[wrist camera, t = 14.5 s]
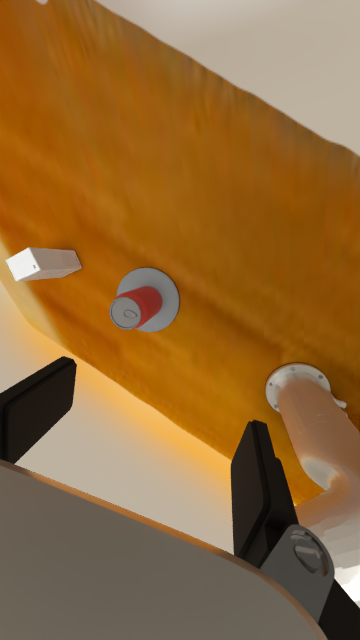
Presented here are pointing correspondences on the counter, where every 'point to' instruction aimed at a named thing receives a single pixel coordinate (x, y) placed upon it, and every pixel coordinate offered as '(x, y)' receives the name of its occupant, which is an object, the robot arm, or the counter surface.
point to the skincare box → (43, 263)
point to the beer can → (135, 307)
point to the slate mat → (162, 286)
